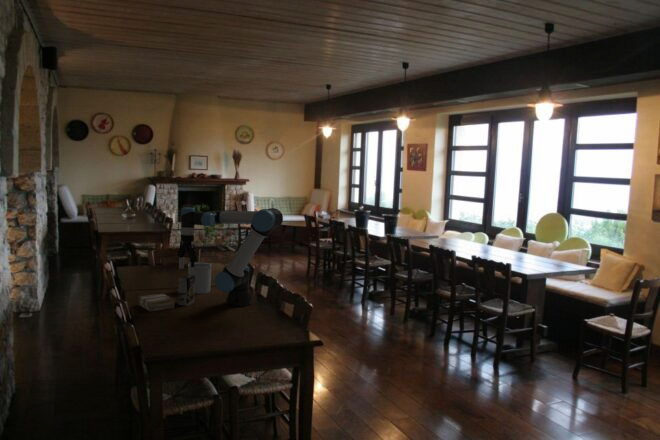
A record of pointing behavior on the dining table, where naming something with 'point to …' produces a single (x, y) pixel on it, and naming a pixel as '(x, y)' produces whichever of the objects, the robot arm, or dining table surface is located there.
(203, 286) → the utensil holder
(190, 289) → the coffee box
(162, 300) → the dock
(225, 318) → the dining table surface
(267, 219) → the robot arm
